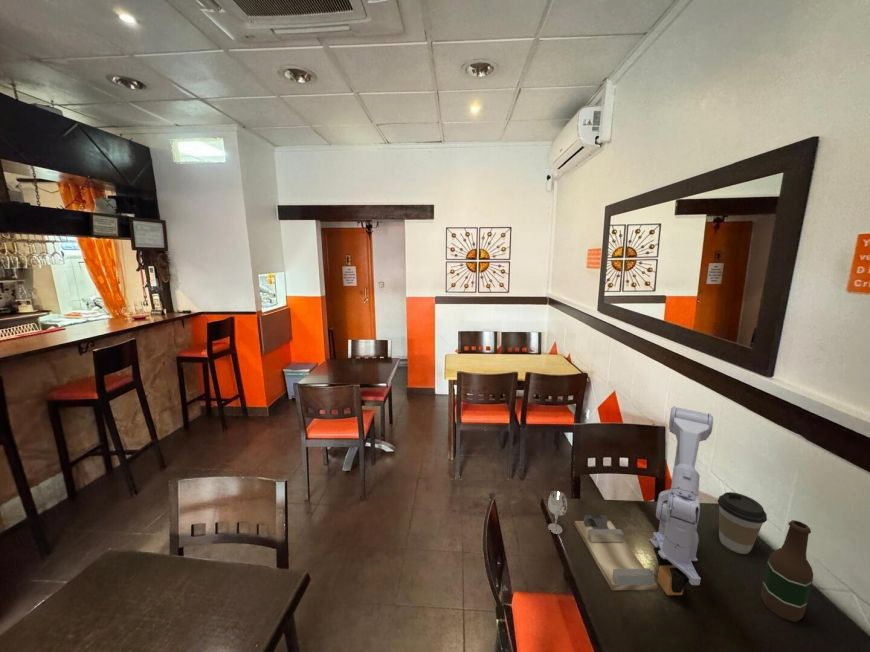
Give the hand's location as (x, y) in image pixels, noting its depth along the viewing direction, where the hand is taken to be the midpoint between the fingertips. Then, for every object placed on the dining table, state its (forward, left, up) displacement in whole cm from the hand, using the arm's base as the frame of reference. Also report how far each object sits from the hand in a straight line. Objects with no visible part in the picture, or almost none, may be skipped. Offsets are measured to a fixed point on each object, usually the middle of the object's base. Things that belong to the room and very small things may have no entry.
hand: (670, 583), depth 91 cm
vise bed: (+10, -10, -1) cm, 14 cm away
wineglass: (+23, -21, -2) cm, 31 cm away
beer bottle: (-25, +6, -2) cm, 25 cm away
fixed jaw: (+10, 0, 0) cm, 10 cm away
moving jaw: (+10, -17, 0) cm, 20 cm away
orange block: (0, 0, -1) cm, 1 cm away
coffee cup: (-31, -14, -2) cm, 34 cm away
